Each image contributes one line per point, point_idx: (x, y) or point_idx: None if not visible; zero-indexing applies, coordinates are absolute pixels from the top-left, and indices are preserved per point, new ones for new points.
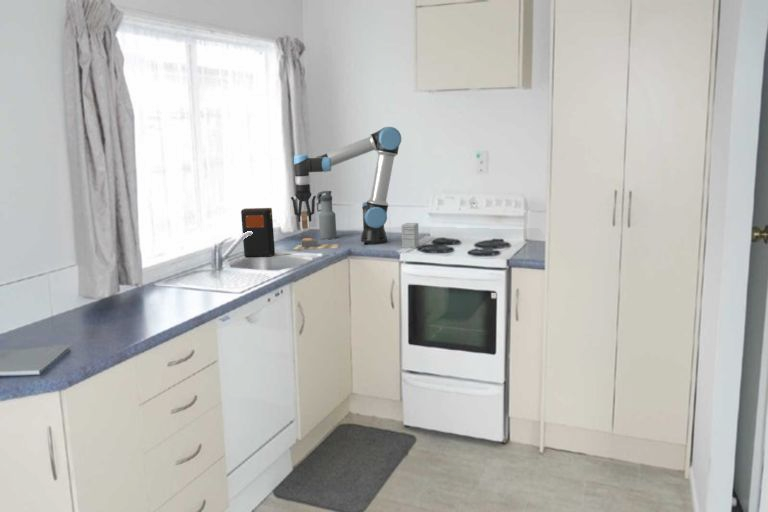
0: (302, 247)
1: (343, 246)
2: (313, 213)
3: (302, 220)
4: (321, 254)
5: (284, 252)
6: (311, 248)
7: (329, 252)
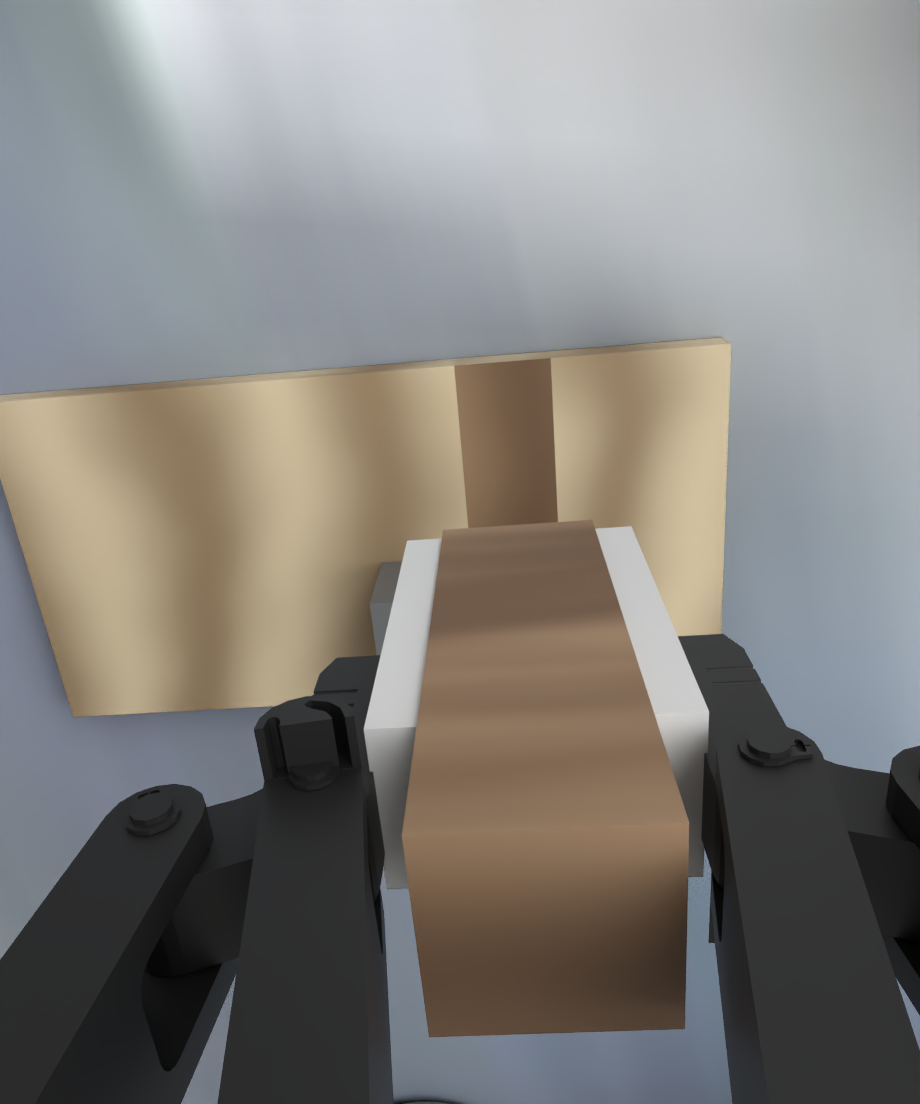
0: (596, 495)
1: (39, 686)
2: (121, 811)
3: (599, 626)
4: (129, 10)
5: (869, 255)
6: (416, 398)
7: (58, 211)
